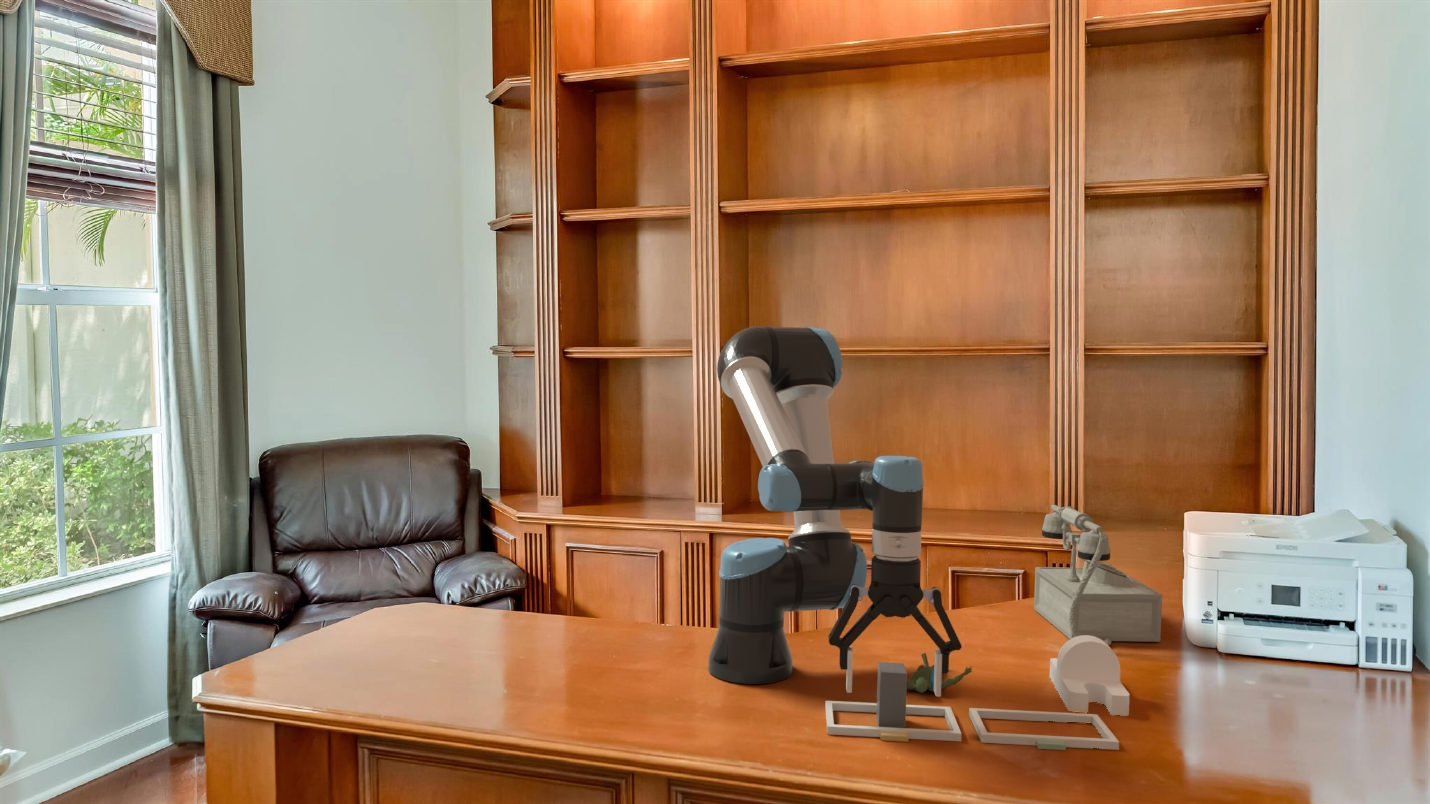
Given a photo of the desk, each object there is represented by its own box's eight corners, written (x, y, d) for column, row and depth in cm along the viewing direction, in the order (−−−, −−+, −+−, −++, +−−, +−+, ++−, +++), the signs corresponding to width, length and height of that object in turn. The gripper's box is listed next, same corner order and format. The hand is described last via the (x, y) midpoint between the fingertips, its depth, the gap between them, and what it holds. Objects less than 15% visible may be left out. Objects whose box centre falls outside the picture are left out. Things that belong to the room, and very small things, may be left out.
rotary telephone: (1174, 653, 196) (1181, 527, 194) (1070, 651, 196) (1076, 525, 194) (1109, 609, 228) (1114, 500, 226) (1019, 607, 228) (1024, 498, 226)
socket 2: (982, 745, 149) (983, 738, 149) (968, 715, 161) (969, 707, 161) (1121, 753, 147) (1121, 745, 147) (1096, 721, 159) (1097, 714, 159)
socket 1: (827, 737, 151) (827, 729, 151) (825, 707, 163) (825, 700, 163) (962, 744, 149) (962, 736, 149) (950, 714, 161) (950, 707, 161)
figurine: (975, 649, 182) (966, 675, 165) (978, 670, 182) (970, 700, 164) (890, 653, 187) (872, 679, 170) (893, 674, 187) (876, 703, 170)
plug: (878, 729, 154) (880, 672, 154) (875, 715, 160) (877, 660, 159) (905, 731, 154) (907, 673, 153) (901, 717, 160) (903, 661, 159)
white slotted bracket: (1068, 713, 163) (1071, 652, 163) (1048, 677, 181) (1050, 621, 180) (1130, 718, 162) (1133, 656, 161) (1103, 681, 180) (1106, 625, 179)
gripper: (815, 558, 152) (812, 696, 153) (982, 564, 150) (978, 703, 151) (814, 549, 159) (812, 680, 160) (973, 554, 157) (970, 687, 158)
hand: (892, 692), depth 156 cm, fingers open, 13 cm apart
